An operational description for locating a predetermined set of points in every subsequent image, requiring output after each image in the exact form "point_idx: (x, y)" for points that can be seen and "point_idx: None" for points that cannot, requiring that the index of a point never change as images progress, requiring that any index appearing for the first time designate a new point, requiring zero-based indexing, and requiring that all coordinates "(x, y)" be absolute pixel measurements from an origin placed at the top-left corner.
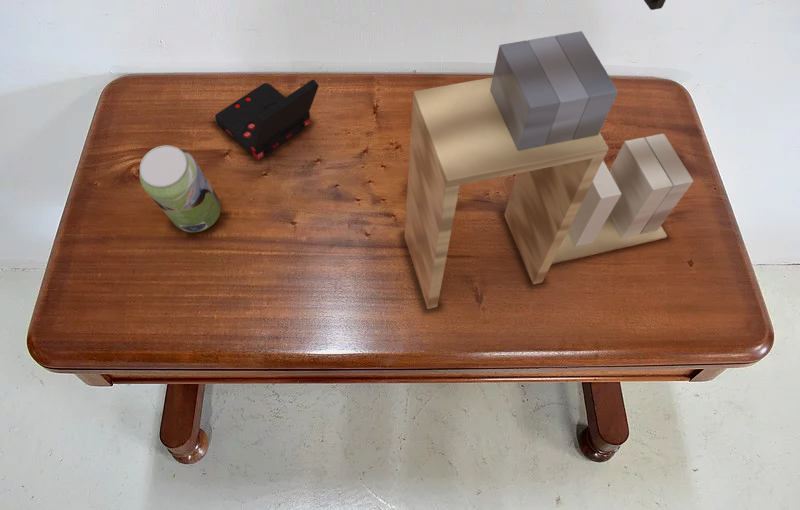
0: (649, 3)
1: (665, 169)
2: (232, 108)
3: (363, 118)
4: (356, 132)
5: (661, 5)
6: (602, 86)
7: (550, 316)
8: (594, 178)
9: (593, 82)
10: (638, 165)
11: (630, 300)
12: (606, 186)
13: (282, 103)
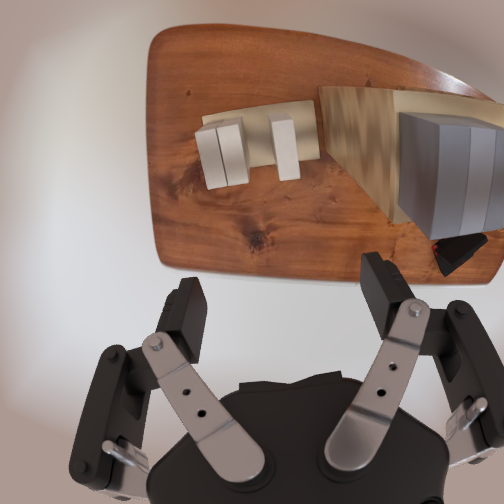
0: (385, 260)
1: (218, 147)
2: (465, 259)
3: (402, 248)
4: (409, 237)
5: (368, 255)
6: (452, 139)
7: (318, 58)
8: (292, 142)
9: (458, 149)
10: (243, 153)
11: (249, 62)
12: (283, 131)
13: (475, 249)
